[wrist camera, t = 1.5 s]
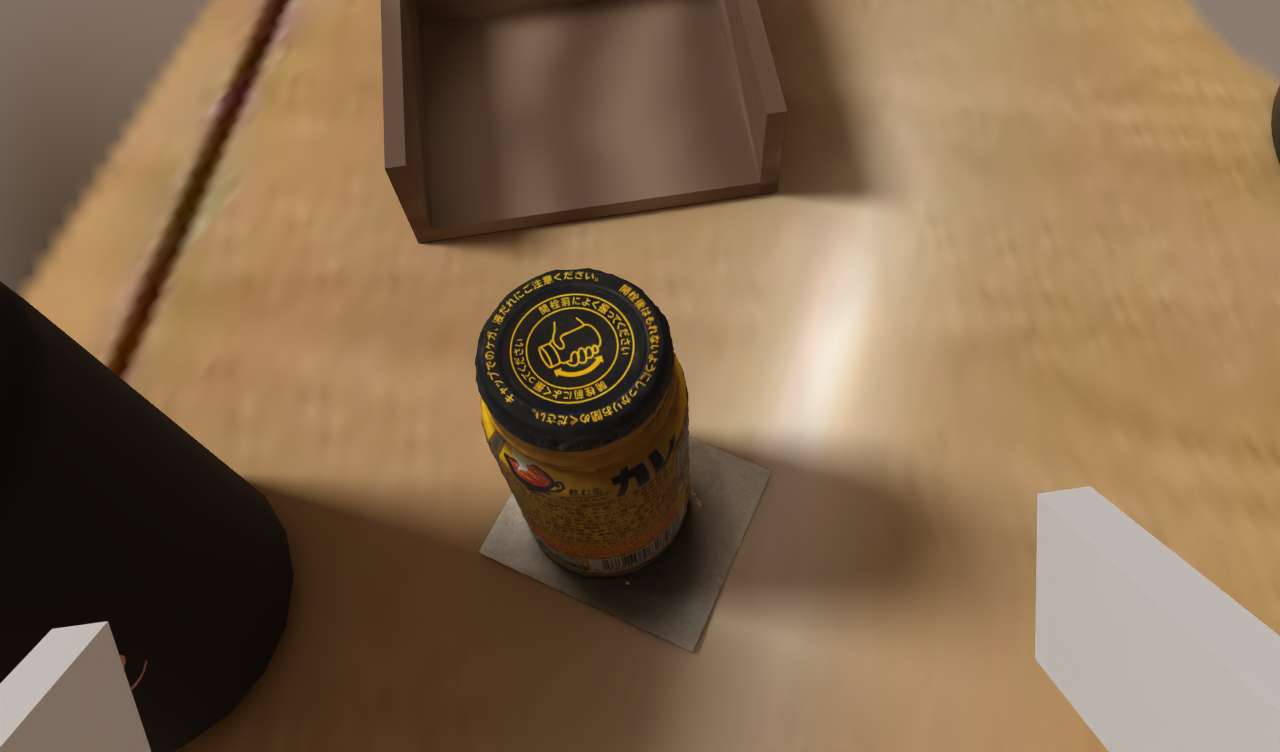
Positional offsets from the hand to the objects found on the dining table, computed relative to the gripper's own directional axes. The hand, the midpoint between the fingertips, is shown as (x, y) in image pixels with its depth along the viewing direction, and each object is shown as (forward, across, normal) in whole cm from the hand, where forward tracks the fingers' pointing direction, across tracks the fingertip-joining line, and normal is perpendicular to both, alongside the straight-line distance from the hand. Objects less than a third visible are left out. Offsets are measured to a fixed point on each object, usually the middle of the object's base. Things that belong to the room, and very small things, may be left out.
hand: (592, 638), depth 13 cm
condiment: (+20, +1, -8) cm, 22 cm away
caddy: (+34, +1, +6) cm, 34 cm away
